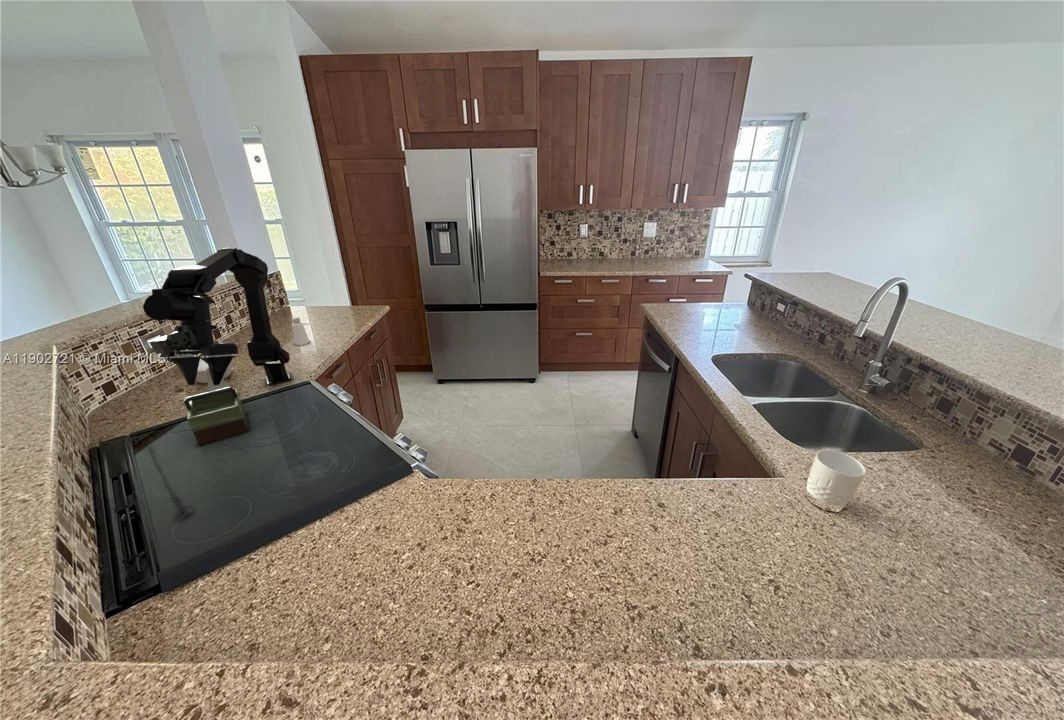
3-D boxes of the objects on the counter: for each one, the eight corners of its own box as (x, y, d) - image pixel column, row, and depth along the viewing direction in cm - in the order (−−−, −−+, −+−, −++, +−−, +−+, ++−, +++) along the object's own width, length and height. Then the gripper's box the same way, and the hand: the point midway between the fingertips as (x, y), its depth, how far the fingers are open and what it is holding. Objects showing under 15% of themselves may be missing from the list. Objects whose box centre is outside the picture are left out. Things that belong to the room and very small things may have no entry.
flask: (243, 393, 116) (232, 364, 112) (223, 405, 109) (211, 375, 105) (222, 391, 116) (210, 363, 112) (201, 403, 110) (188, 373, 106)
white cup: (841, 493, 78) (859, 456, 74) (852, 521, 72) (872, 481, 68) (797, 482, 81) (812, 445, 77) (804, 507, 75) (820, 468, 71)
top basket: (194, 413, 98) (183, 389, 95) (241, 401, 104) (233, 378, 101) (192, 432, 90) (181, 407, 87) (243, 418, 96) (234, 394, 93)
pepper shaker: (312, 340, 156) (306, 315, 151) (304, 345, 151) (297, 320, 146) (300, 340, 156) (293, 315, 152) (291, 345, 151) (284, 319, 147)
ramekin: (240, 375, 127) (235, 361, 125) (200, 388, 118) (194, 373, 116) (226, 367, 132) (221, 354, 130) (187, 379, 124) (180, 365, 121)
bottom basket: (200, 425, 100) (194, 413, 98) (245, 413, 105) (241, 401, 104) (199, 446, 92) (193, 432, 90) (248, 431, 97) (243, 418, 96)
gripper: (127, 323, 85) (137, 390, 86) (180, 319, 79) (190, 391, 80) (185, 323, 95) (193, 382, 97) (236, 319, 90) (243, 383, 91)
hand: (203, 384), depth 91 cm, fingers open, 9 cm apart
